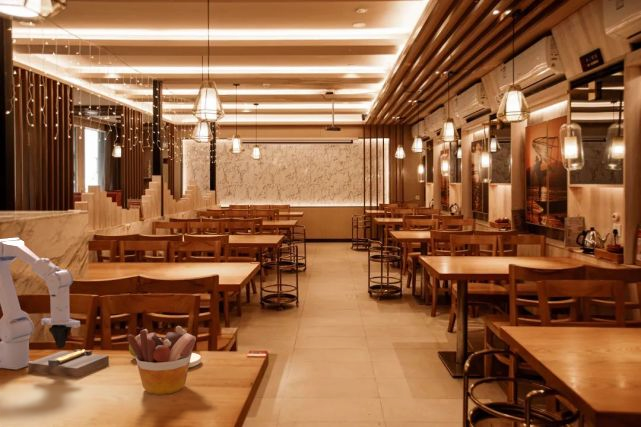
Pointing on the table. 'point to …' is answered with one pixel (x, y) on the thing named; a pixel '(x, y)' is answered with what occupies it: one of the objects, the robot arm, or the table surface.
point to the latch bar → (71, 355)
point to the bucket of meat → (163, 360)
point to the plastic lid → (195, 359)
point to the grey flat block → (68, 364)
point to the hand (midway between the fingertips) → (60, 347)
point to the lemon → (132, 349)
